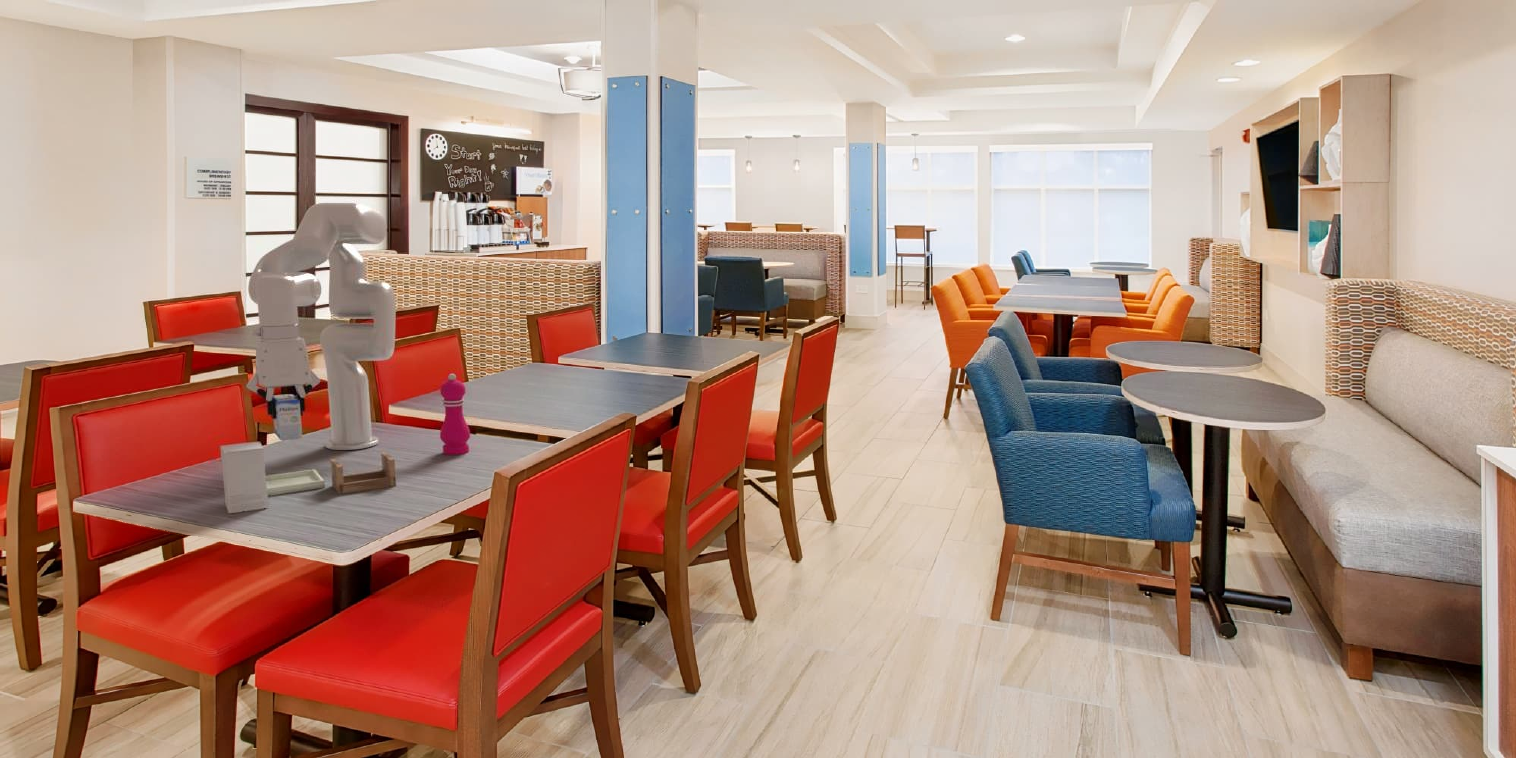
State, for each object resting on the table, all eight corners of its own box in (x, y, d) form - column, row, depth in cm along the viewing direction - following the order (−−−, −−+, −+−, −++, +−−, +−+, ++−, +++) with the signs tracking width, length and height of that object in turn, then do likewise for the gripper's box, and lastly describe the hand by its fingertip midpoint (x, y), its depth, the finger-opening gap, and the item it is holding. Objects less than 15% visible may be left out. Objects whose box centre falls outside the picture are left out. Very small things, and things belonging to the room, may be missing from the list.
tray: (260, 483, 208) (259, 476, 208) (315, 475, 214) (314, 469, 214) (267, 495, 199) (267, 488, 198) (324, 487, 205) (324, 480, 205)
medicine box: (274, 434, 207) (271, 395, 205) (296, 431, 209) (293, 393, 208) (280, 441, 200) (276, 401, 199) (303, 438, 203) (299, 399, 201)
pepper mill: (461, 456, 232) (457, 376, 229) (435, 454, 234) (430, 375, 230) (476, 449, 239) (472, 372, 236) (450, 447, 241) (446, 370, 237)
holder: (332, 485, 206) (330, 459, 205) (387, 477, 213) (385, 452, 212) (339, 494, 200) (337, 466, 199) (396, 485, 207) (394, 459, 206)
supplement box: (269, 508, 190) (264, 447, 188) (227, 514, 186) (221, 452, 184) (265, 499, 196) (260, 440, 194) (225, 504, 193) (219, 445, 190)
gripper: (237, 337, 193) (245, 424, 196) (326, 332, 202) (332, 415, 206) (233, 333, 199) (240, 418, 202) (319, 328, 208) (325, 409, 212)
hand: (286, 415), depth 204 cm, fingers closed on medicine box, 4 cm apart
